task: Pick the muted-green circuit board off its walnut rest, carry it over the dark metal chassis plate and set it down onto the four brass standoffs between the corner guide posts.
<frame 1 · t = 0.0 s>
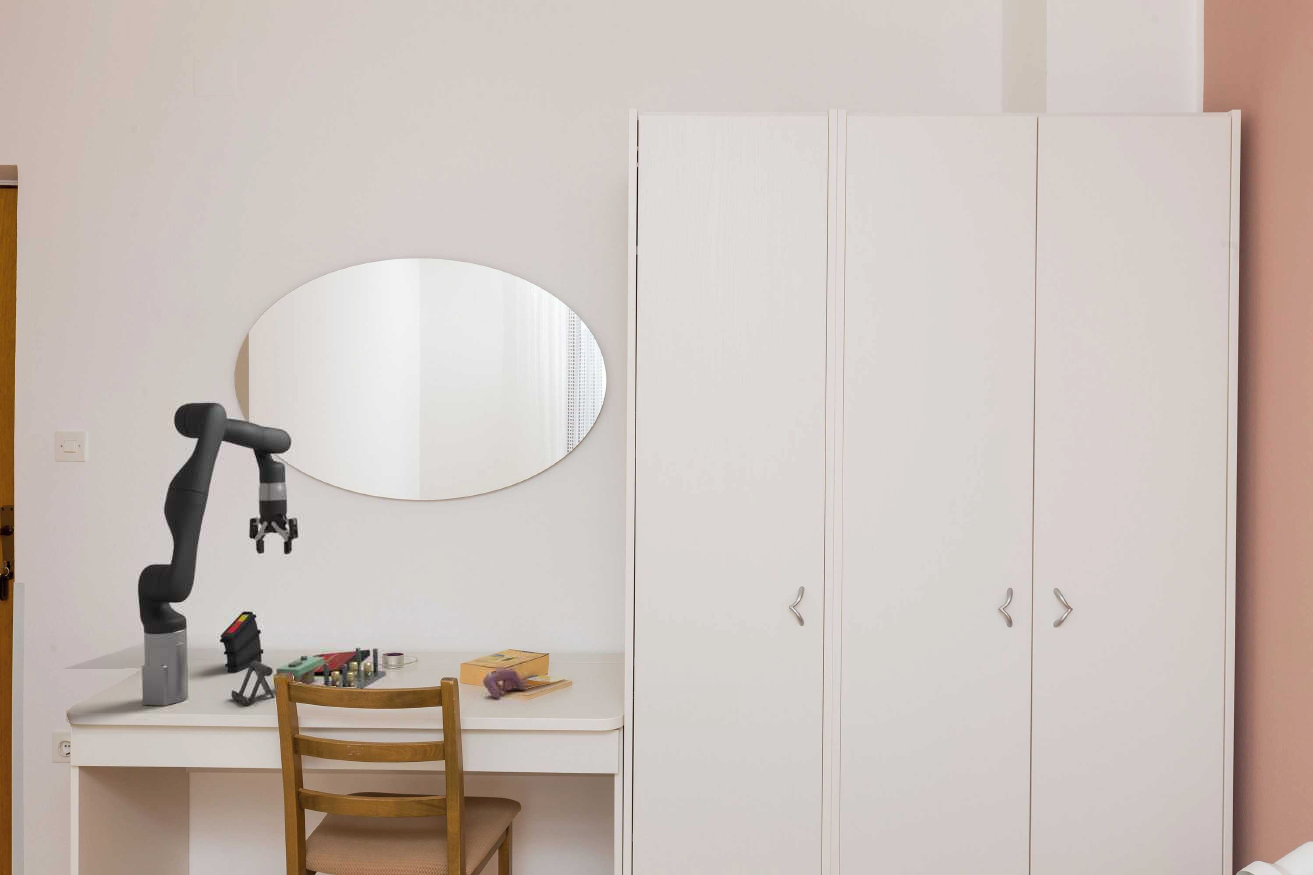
hand: (274, 553, 269), 29 cm above the table, fingers open, 8 cm apart
purple animal figurine: (504, 693, 227), on the table
portable electronic device stand: (254, 700, 225), on the table
rest: (301, 684, 237), on the table
board: (301, 668, 237), point 4 cm above the table, touching rest
black box: (242, 668, 254), on the table
chassis: (352, 683, 238), on the table
binder: (330, 668, 255), on the table
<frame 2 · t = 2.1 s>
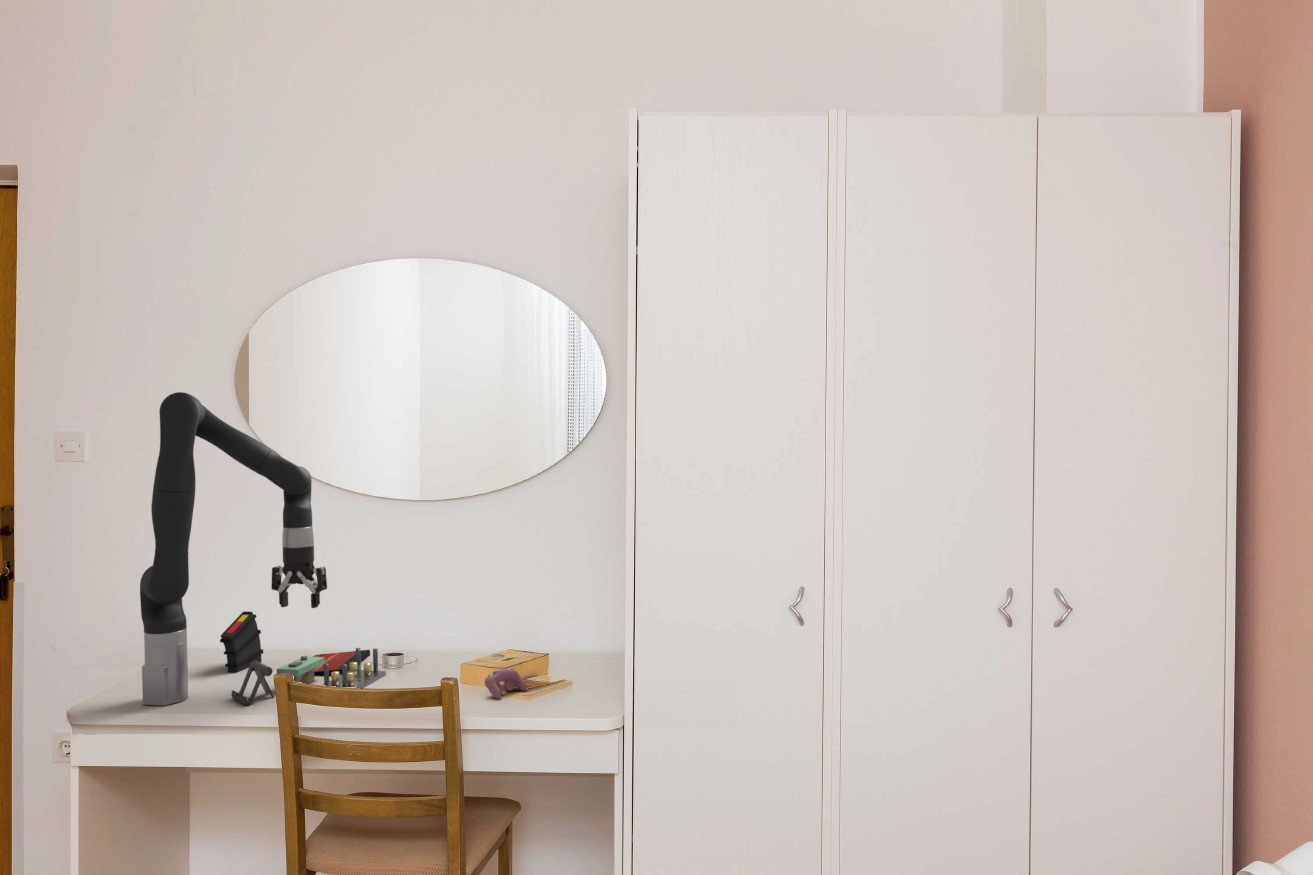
hand: (299, 607, 237), 20 cm above the table, fingers open, 8 cm apart
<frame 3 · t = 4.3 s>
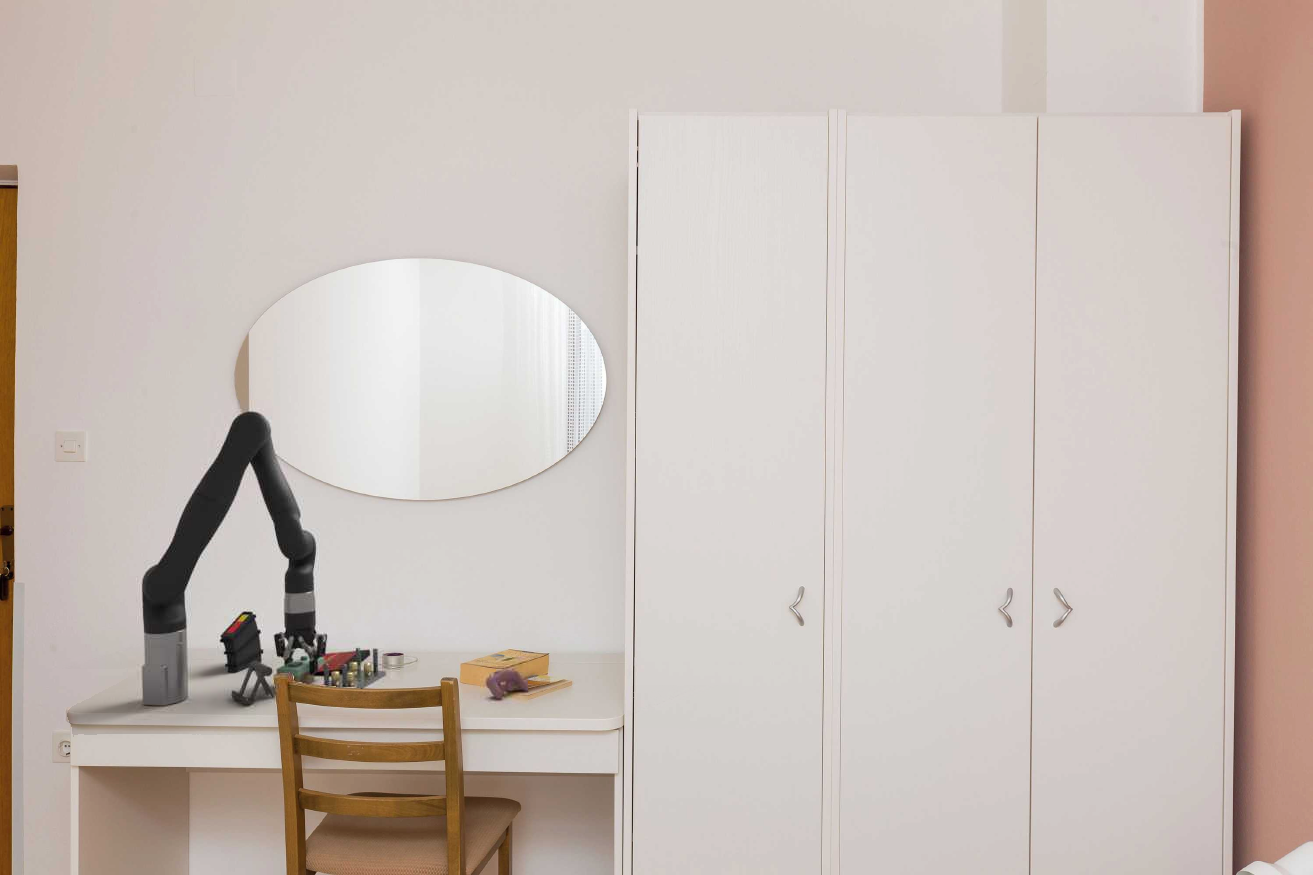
hand: (301, 673, 237), 3 cm above the table, fingers closed on board, 6 cm apart
board: (301, 668, 237), point 4 cm above the table, touching gripper, rest
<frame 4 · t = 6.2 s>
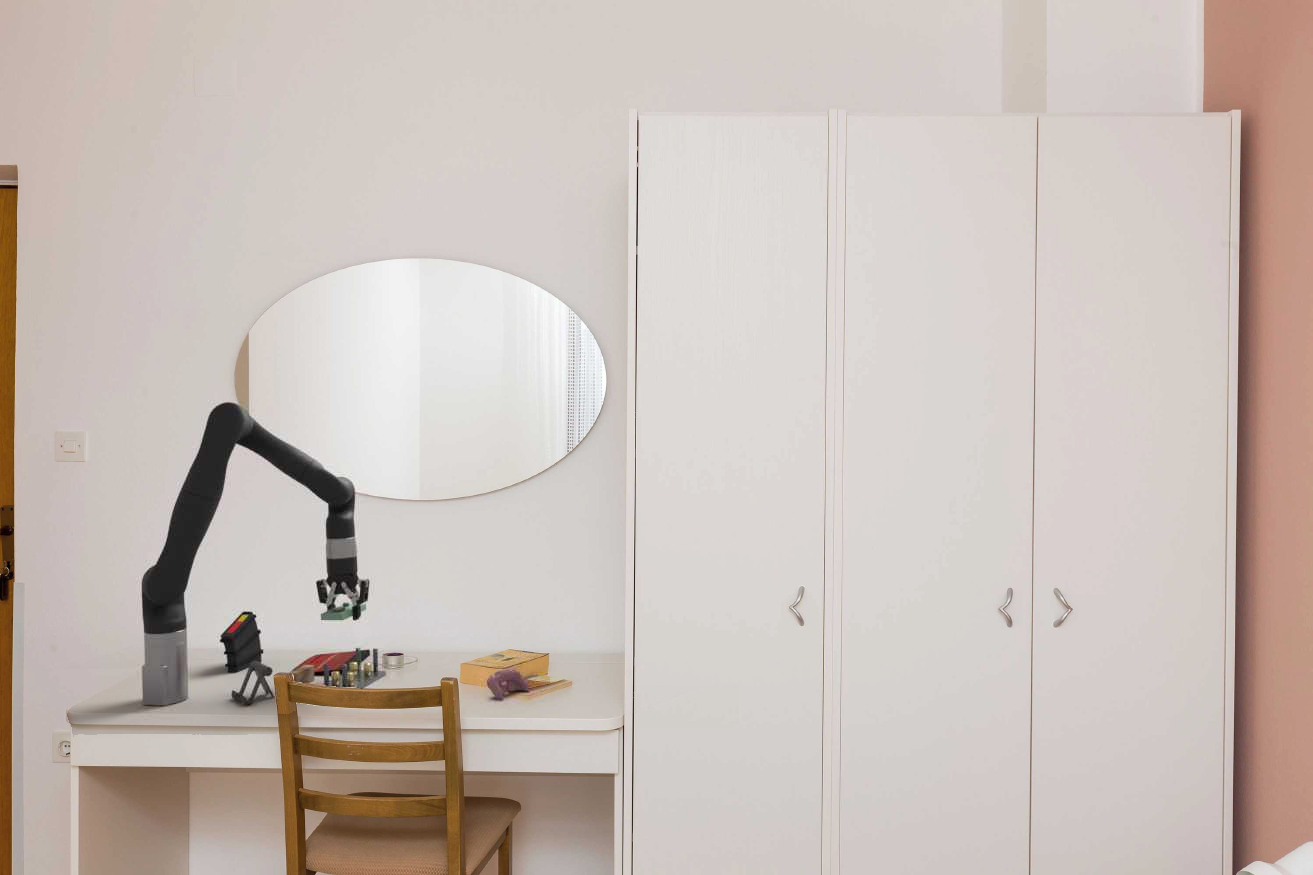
hand: (344, 619, 238), 16 cm above the table, fingers closed on board, 6 cm apart
board: (344, 614, 238), point 18 cm above the table, touching gripper
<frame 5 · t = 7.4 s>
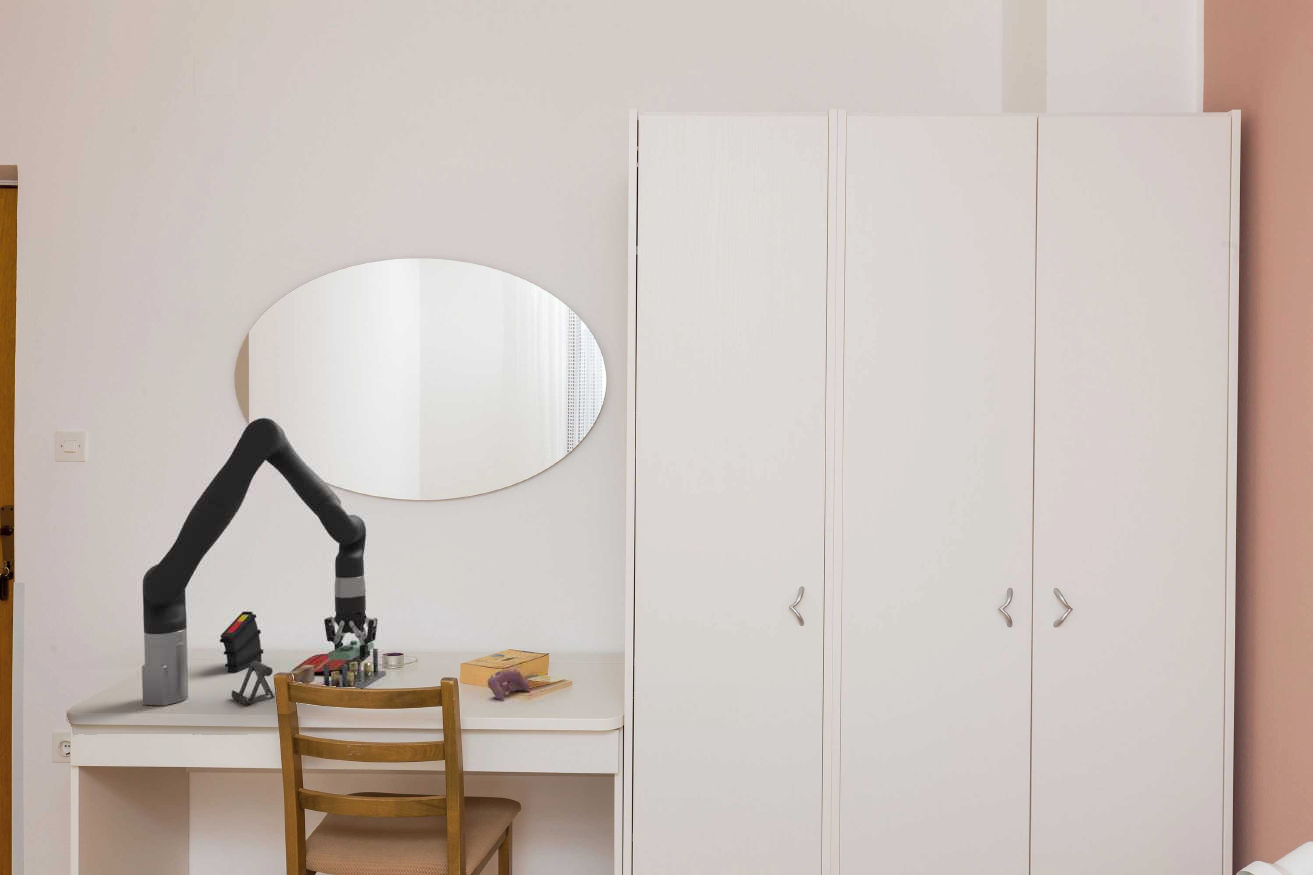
hand: (351, 657, 237), 7 cm above the table, fingers closed on board, 6 cm apart
board: (351, 653, 237), point 8 cm above the table, touching gripper
when the fingers open (4 cm above the table, at t = 8.4 s): board drops 1 cm, resting on chassis.
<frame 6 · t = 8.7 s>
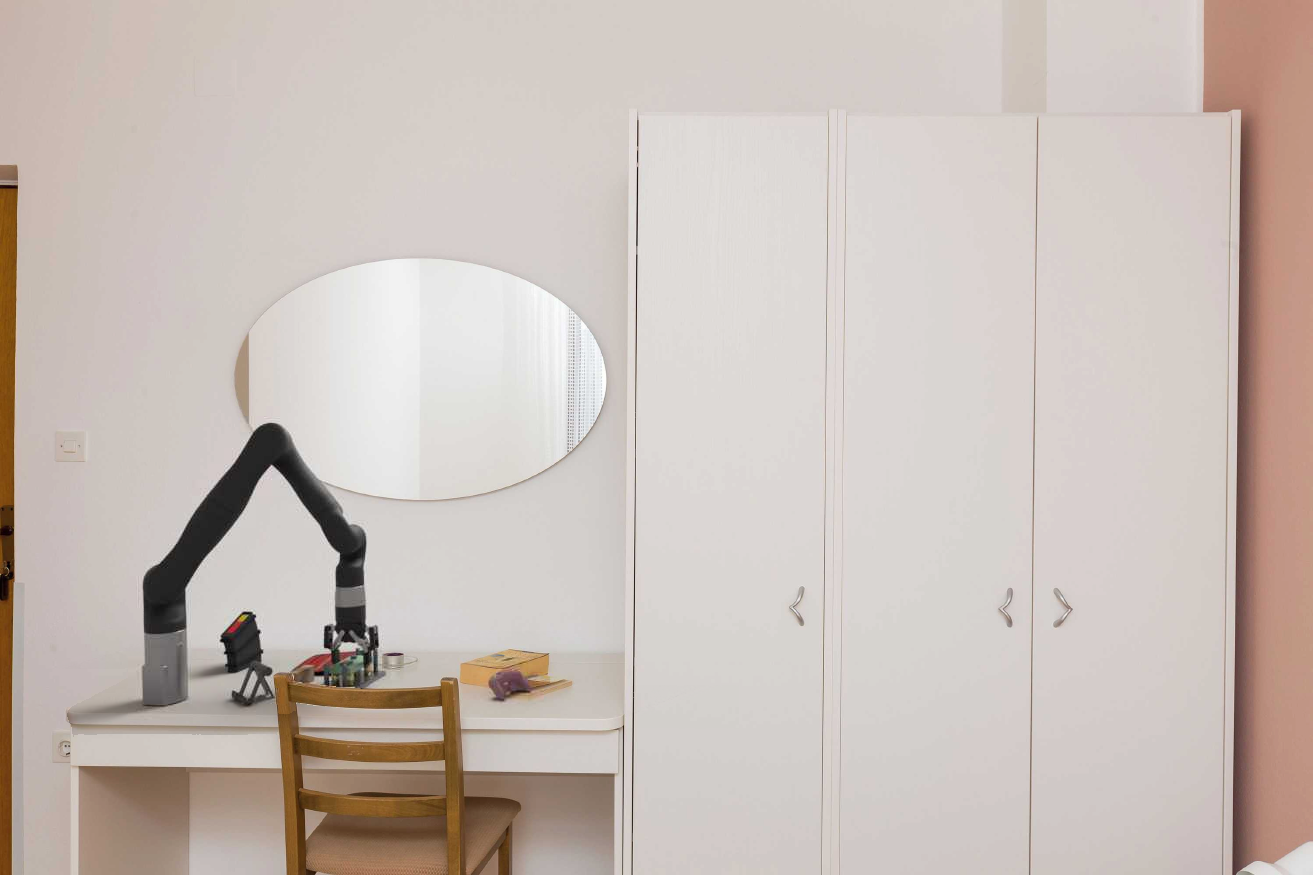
hand: (351, 665, 237), 5 cm above the table, fingers open, 8 cm apart
board: (351, 667, 237), point 4 cm above the table, touching chassis
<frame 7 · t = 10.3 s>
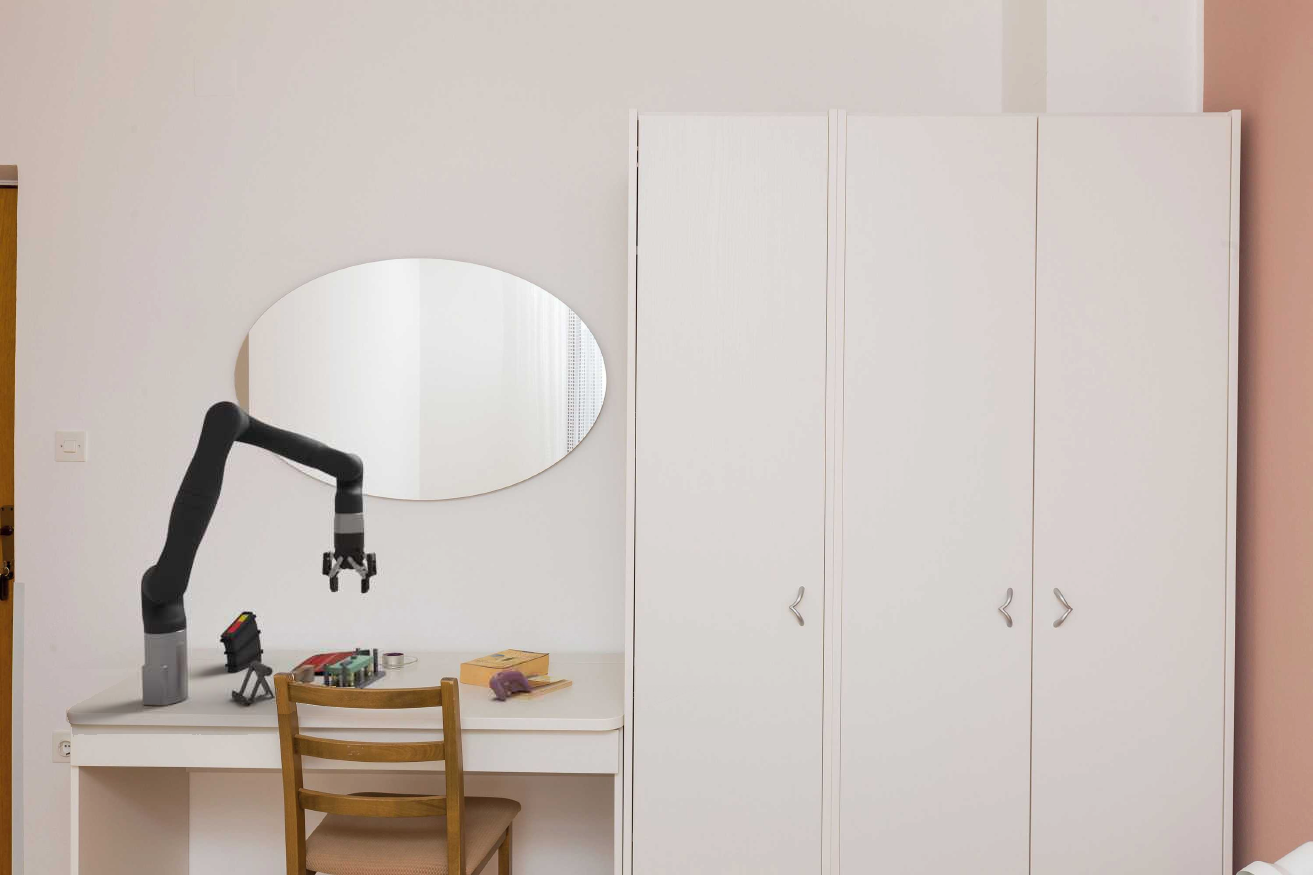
hand: (349, 592, 240), 23 cm above the table, fingers open, 8 cm apart
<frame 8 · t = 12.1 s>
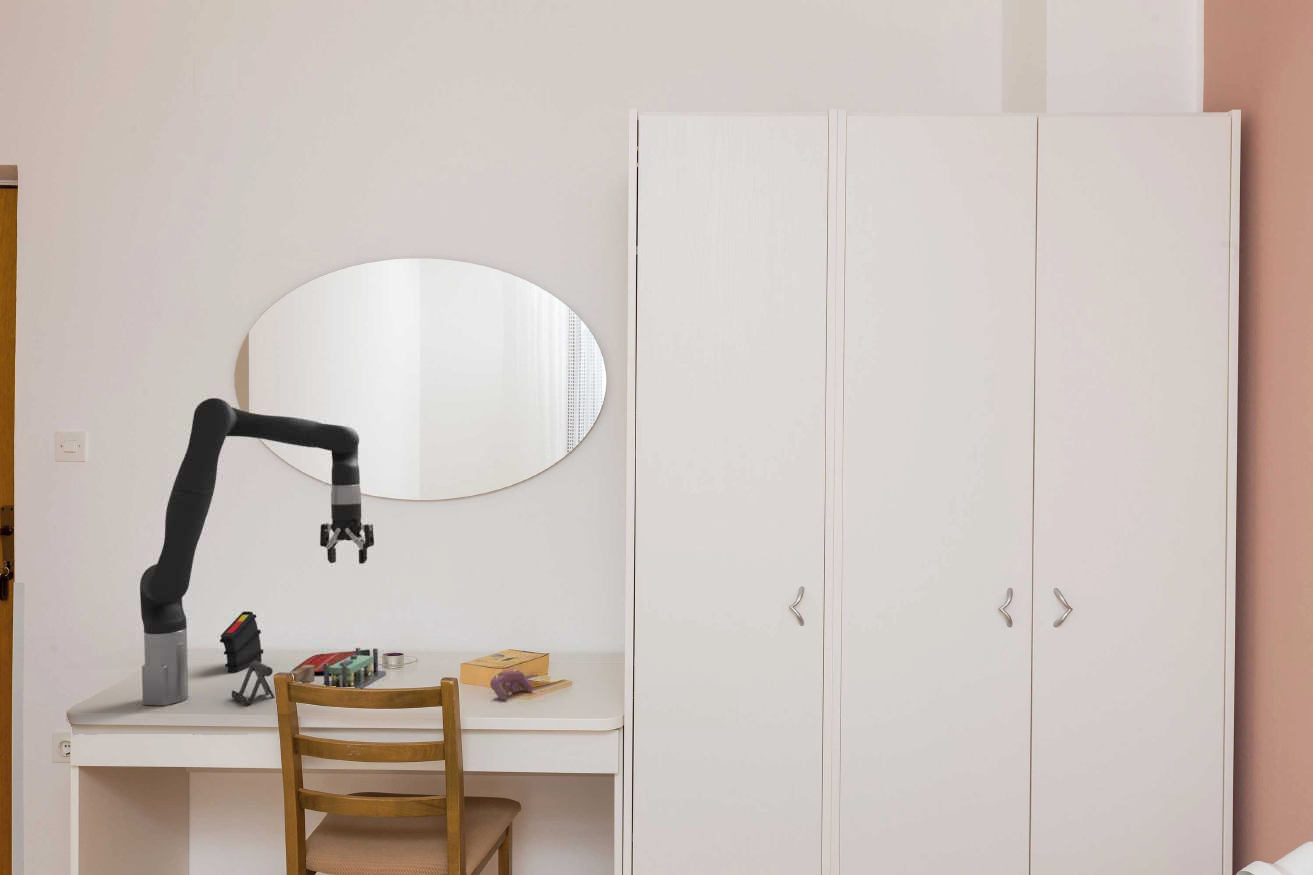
hand: (347, 562, 244), 30 cm above the table, fingers open, 8 cm apart
at the end: board 0.1 cm off-centre on the chassis, point 4.0 cm above the chassis's base; board tilted 0°; the gripper is holding nothing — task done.
